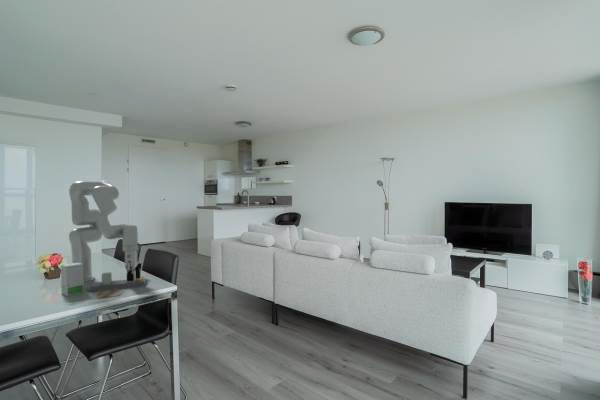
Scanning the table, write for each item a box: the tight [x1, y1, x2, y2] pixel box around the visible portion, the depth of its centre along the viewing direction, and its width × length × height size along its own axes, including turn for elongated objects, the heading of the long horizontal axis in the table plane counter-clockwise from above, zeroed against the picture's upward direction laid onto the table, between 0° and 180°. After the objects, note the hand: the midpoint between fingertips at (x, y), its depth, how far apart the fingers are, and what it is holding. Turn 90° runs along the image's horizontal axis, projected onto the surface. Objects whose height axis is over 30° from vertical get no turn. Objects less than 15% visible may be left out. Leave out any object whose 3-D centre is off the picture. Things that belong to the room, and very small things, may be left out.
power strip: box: [89, 277, 147, 292], centre depth 176 cm, size 26×8×4 cm, turn 109°
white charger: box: [127, 270, 136, 282], centre depth 178 cm, size 4×3×8 cm
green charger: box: [101, 272, 113, 285], centre depth 174 cm, size 4×3×8 cm
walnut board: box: [95, 288, 125, 299], centre depth 164 cm, size 11×11×1 cm
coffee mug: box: [125, 260, 143, 279], centre depth 193 cm, size 12×9×10 cm
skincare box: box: [60, 262, 85, 297], centre depth 166 cm, size 8×7×16 cm
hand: (131, 279), depth 178 cm, fingers open, 5 cm apart
